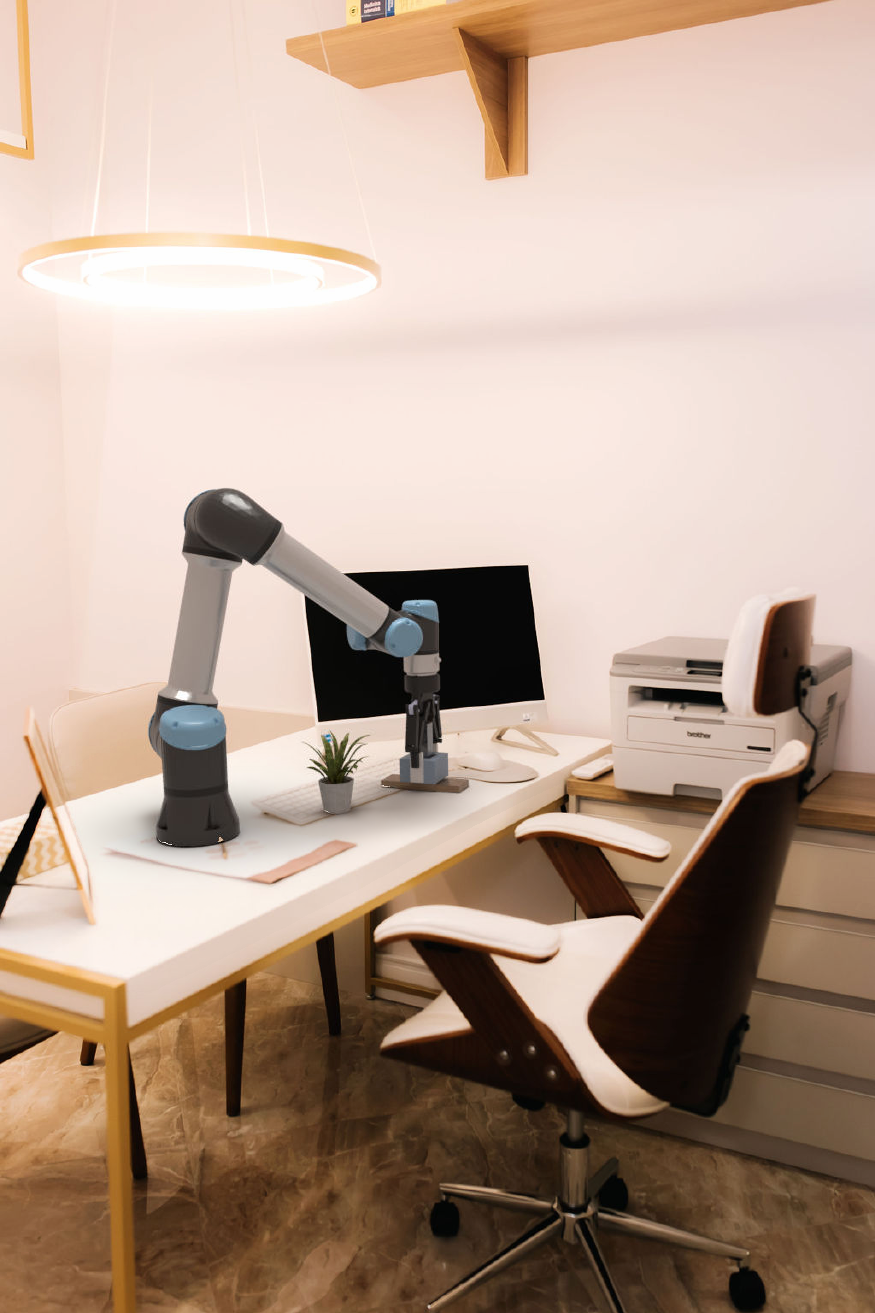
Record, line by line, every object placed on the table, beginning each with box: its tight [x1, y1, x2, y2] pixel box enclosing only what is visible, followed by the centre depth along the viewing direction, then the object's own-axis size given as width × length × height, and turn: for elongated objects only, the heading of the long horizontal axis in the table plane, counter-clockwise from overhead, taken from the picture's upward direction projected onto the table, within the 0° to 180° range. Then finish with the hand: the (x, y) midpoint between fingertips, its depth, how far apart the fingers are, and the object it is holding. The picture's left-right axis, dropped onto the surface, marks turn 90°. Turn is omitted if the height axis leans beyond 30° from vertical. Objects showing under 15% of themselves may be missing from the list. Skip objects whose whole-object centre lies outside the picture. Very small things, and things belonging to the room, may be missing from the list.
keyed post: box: [380, 721, 470, 794], centre depth 224 cm, size 6×18×14 cm, turn 69°
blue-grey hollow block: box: [399, 751, 449, 784], centre depth 225 cm, size 8×8×5 cm
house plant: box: [302, 729, 371, 815], centre depth 207 cm, size 14×14×16 cm
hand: (424, 777), depth 225 cm, fingers closed on blue-grey hollow block, 8 cm apart
